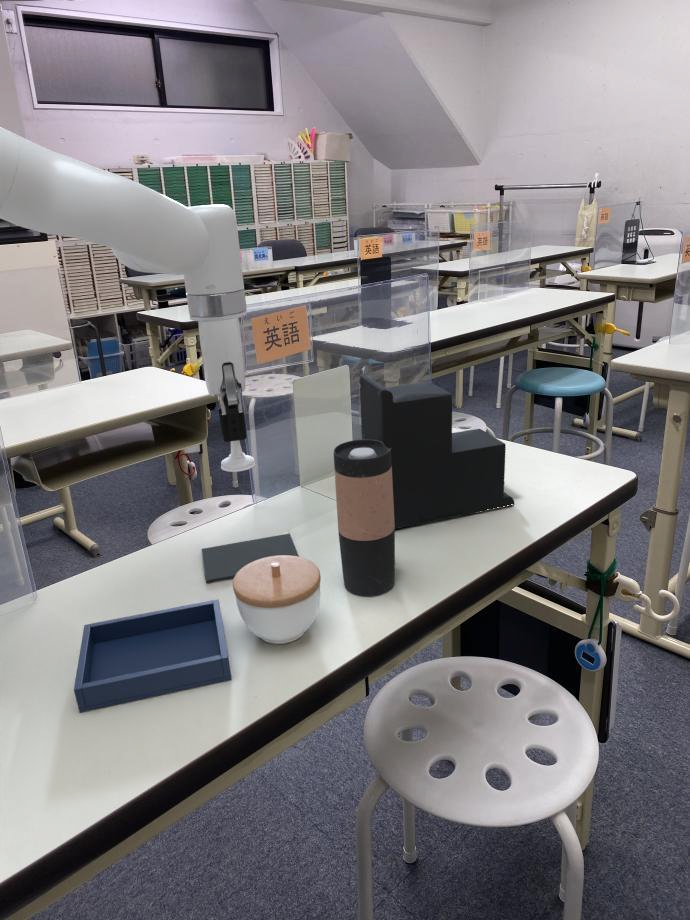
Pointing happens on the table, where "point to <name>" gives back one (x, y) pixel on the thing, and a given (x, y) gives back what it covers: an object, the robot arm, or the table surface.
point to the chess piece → (237, 459)
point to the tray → (151, 655)
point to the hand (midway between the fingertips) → (234, 436)
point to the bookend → (432, 453)
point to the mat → (243, 555)
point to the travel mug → (365, 516)
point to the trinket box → (278, 597)
